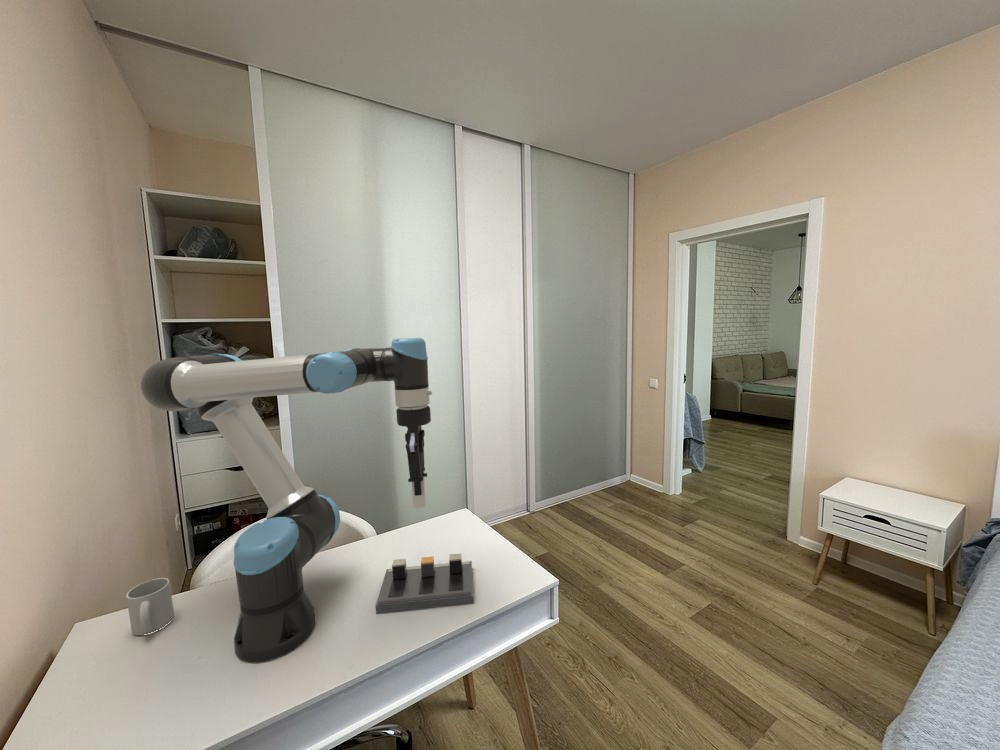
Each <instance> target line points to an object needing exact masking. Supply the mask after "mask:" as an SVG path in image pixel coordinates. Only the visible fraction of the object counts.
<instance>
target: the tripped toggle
mask: <svg viewBox="0 0 1000 750" xmlns="http://www.w3.org/2000/svg"><path fill="white" fill-rule="evenodd" d="M420 559H421V561H420V566H421V574H422V577H428V576H434V565H435V558H434V556H424V557H421V558H420Z"/></svg>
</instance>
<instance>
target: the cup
mask: <svg viewBox="0 0 1000 750" xmlns="http://www.w3.org/2000/svg"><path fill="white" fill-rule="evenodd" d="M170 584H171V583H170V579H168V578H167V577H158V578H153V579H150V580H146V581H144V582H141V583H139V584H137V585H135V586H134V587H132V588H131V589H130V590H129V591H128V592H127V593H126V595H125V598H126V603H127V610H128V615H129V616H128V617H129V621H130V628H131V632H132V634H133V635H134V636H136V635H144V634H148V633H151V632H154V631H156V630H159V629H160V628H162V627H164V626H165V625H166V624H168V623H169V622H170V621H171V620H172V618H173V617H174V618H175V611H174V603H173V598H172V597H173V596H172V589H171V585H170ZM174 618H173V619H174ZM172 621H173V620H172ZM172 621H171V622H172ZM159 631H160V630H159Z"/></svg>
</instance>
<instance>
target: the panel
mask: <svg viewBox="0 0 1000 750" xmlns="http://www.w3.org/2000/svg"><path fill="white" fill-rule="evenodd" d="M448 556H449V557H448V562H447V563H446V562H445V563H438V564H435V563H434V576H428V577H422V574H421V565H418V566H407V558H400V559H399V558H398V559H397V558H396V559H393V560H392V564H391V568H387V569H386V570H385V572H384V573H385V574H384V577H383V580H382V582H381V583H382V584H381V586H380V589H379V594H378V596H377V599H376V603H375V615H378V614H390V613H397V612H398V613H399V612H406V611H407V612H408V611H416V610H426V609H435V608H446V607H455V606H456V607H457V606H465V605H473V604H475V603H474V600H475V599H474V590H473V589H474V586H473V584H474V582H473V568H472V567H473V565H472V564H473V563H472V560H466V561H463V560H462V558H463V557H462V553H452V554H449V555H448Z"/></svg>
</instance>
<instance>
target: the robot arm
mask: <svg viewBox="0 0 1000 750" xmlns="http://www.w3.org/2000/svg"><path fill="white" fill-rule="evenodd" d="M428 360H429V358H428V353H427V345H426V341H425V340H424V338H422V337H407V338H405V337H404V338H394V339H393V338H392V341H391V345H390V347H384V348H383V347H380V348H376V347H375V348H373V347H372V348H368V347H367V348H359V347H357V348H351V349H344V350H342V351H330V352H329V351H328V352H323V353H315V354H303V355H291V356H281V357H278V356H277V357H272V358H271V357H270V358H259V359H258V358H257V359H249V360H248V359H247V360H243V359H240V358H239V357H237V356H235V355H231V354H225V353H223V354H221V353H210V354H205V355H204V354H203V355H194V356H193V355H192V356H182V357H179V356H177V357H169V358H165V359H162V360H159V361H157V362H155V363H153V364H152V365H150V366H149V367H148V368H147V369H146V370H145V372H144V373H143V375H142V378H141V382H140V390H141V393H142V395H143V398H144V400H146V401H147V402H148V403H149V404H151V405H152V406H153V407H155V408H157V409H159V410H163V411H166V412H182V411H189V410H192V409H193V410H194V409H195V410H196V412H197V414H198V415H199V416H200V418H201V419H202V420H203V421H207V422H212V423H213V424H214V426H216V428H217V430H218V431H219V433H220V435H221V436H222V438H223V439H224V441H225V442H226V445H228V447H229V449H230V451H232V453H233V455H234V456H235V458H236V459H237V461H238V462H239V464H240V465H241V467H242V469H243V470H244V472H245V474H246V475H247V476H248V478H249V480H250V481H251V483H252V484H253V486H254V487H255V489H256V491H257V492H258V494H259V495H260V497H261V498H262V500H263V501H264V503H265V505H266V506H267V508H268V510H267V514H266V516H265V520H263V522H257V523H255V524H253V525H252V526H250V527H248V528H247V529H245V530H244V531H243V532H242V533H241V534H240V535H239V536H238V537H237V539H236V541H235V544H234V547H233V554H234V555H233V566H234V569H235V571H234V572H235V578H236V585H237V592H238V598H239V599H238V600H239V605H240V606H239V607H240V612H239V613H240V614H239V616H238V617H239V618H238V622H237V625H236V629H235V633H234V637H233V646H234V651H235V655H236V657H237V658H238V659H239V660H241V661H243V662H247V663H264V662H269V661H272V660H275V659H277V658H281V657H282V656H285V655H287V654H288V653H290V652H292V651H294V650H295V649H297V648H299V647H300V646H301V645H302V644H303V643H305V641H306V640H307V639H308V638H309V637H310V636H311V635H312V633H314V630H315V627H316V624H317V616H316V611H315V610H316V609H315V608H314V605H313V604H312V602H311V600H310V598H309V596H308V595H307V593H306V591H305V588H304V577H303V568H304V567H305V566H306V565H307V564H308V562H310V561H311V559H313V558H314V557H315V555H317V554H318V553H319V552H320V551H321V550H322V549H323V548H324V547H326V546H327V545H328V544H329V543H330V542H331V540H332V539H333V537H334V536H335V535H336V533H337V532H338V530H339V527H340V524H341V513H340V510H339V508H338V505H337V504H336V503H335V501H334V500H333V499H332V498H331V497H329V496H327V497H326V495H323V494H318V493H317V492H316V490H315V488H314V487H310V486H305V485H304V484H303V482H302V481H301V479H300V477H299V476H298V474H297V473H296V471H295V470H294V468H293V467H292V465H291V463H290V462H289V460H288V459H287V458H286V455H285V454H284V452H283V451H282V449H281V448H280V445H278V443H277V441H276V440H275V439H274V437H273V435H272V434H271V432H270V430H269V429H268V428H267V425H265V423H264V421H263V420H262V419H263V418H261V416H260V415H259V413H258V412H257V410H256V408H255V407H254V405H253V400H254V399H255V398H263V397H274V396H275V397H276V396H286V395H287V396H288V395H298V394H300V395H301V394H308V393H309V394H311V393H321V394H326V395H327V394H337V393H341V392H345V390H348V389H351V388H355V387H358V386H361V385H364V384H368V383H373V382H375V383H378V382H393V383H394V399H395V401H394V402H395V406H396V407H397V409H395V412H396V423H397V425H398V426H399V427H406V428H407V430H406V433H405V434H404V439H405V443H406V444H405V450H406V453H407V454H406V457H407V463H408V471H409V474H408V475H409V478H408V479H407V482H408V483H411V489H412V491H411V492H412V503H413V504H412V505H413V506H412V507H413V509H421V508H422V509H423V508H426V507H427V502H426V501H427V500H426V485H425V484H426V483H425V478H427V477H428V473H427V472H425V471H426V468H425V450H424V449H425V439H424V438H425V436H426V435H425V434H426V433H425V432H426V431H425V429H422V426H425V425H428V424H430V423H431V421H432V418H431V417H432V416H431V415H432V414H431V407H430V405H429V404H430V403H431V402H430V401H431V400H430V396H432V395H433V392H432V390H429V387H430V385H429V369H428V368H429V367H428V365H429V363H428Z"/></svg>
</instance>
